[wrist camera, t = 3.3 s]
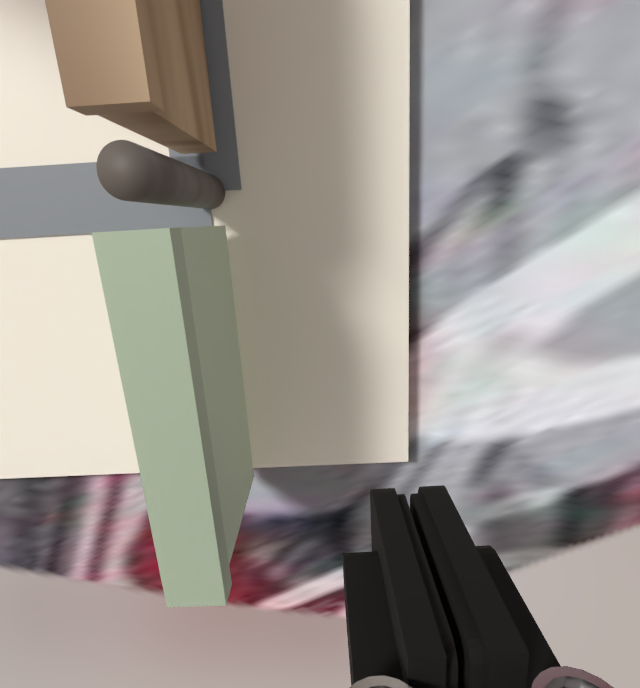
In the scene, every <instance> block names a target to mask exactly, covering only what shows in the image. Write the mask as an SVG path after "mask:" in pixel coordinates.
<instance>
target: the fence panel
mask: <svg viewBox="0 0 640 688" xmlns="http://www.w3.org/2000/svg"><path fill="white" fill-rule="evenodd" d="M92 238H93V242H94V247H95V252H96V257H97V262H98V267H99V272H100V277H101V282H102V287H103V292H104V297H105V302H106V307H107V312H108V317H109V322H110V327H111V332H112V337H113V342H114V347H115V352H116V357H117V362H118V367H119V372H120V377H121V382H122V387H123V392H124V397H125V402H126V406H127V411H128V416H129V421H130V426H131V431H132V436H133V441H134V446H135V451H136V456H137V461H138V466H139V471H140V476H141V481H142V486H143V491H144V496H145V501H146V506H147V511H148V516H149V521H150V526H151V531H152V536H153V541H154V546H155V551H156V556H157V561H158V566H159V571H160V575H161V580H162V585H163V590H164V595H165V600H166V605H167V607H191V606H222V605H226V604H227V600H228V597H229V593H230V589H231V585H232V583H231V576H230V569H229V564H230V560H231V556H232V553H233V549H234V546H235V542H236V539H237V535H238V531H239V528H240V524H241V521H242V517H243V514H244V510H245V506H246V503H247V499H248V496H249V492H250V489H251V485H252V481H253V478H254V472H253V463H252V454H251V445H250V437H249V428H248V419H247V411H246V402H245V393H244V384H243V376H242V367H241V358H240V349H239V341H238V332H237V323H236V315H235V306H234V297H233V288H232V280H231V271H230V262H229V253H228V245H227V236H226V227H225V225H224V226H203V227H183V228H162V229H145V230H127V231H110V232H93V233H92Z"/></svg>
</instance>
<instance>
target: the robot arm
mask: <svg viewBox="0 0 640 688" xmlns="http://www.w3.org/2000/svg"><path fill="white" fill-rule="evenodd" d="M370 503H371V537H372V552H358V553H343V572H344V591H345V607H346V621H347V635H348V647H349V659H350V673H351V687H350V688H613V687H612V686H610V685H609V684H608V683H606V682H605V681H604V680H602V679H601V678H599V677H597V676H595V675H592V674H590V673H588V672H586V671H584V670H580V669H576V668H572V667H568V666H563V667H561V666H560V664H559V663H558V661H557V659H556V657H555V656H554V654H553V652H552V650H551V649H550V647H549V645H548V643H547V641H546V640H545V638H544V636H543V635H542V632H541V631H540V629H539V627H538V625H537V624H536V622H535V620H534V618H533V617H532V615H531V613H530V611H529V610H528V608H527V606H526V604H525V602H524V601H523V599H522V597H521V595H520V593H519V592H518V590H517V588H516V587H515V585H514V583H513V581H512V579H511V578H510V576H509V574H508V572H507V570H506V569H505V567H504V565H503V563H502V562H501V560H500V558H499V556H498V554H497V553H496V551H495V550H494V549H493V548H492V547H491V546H475V545H474V543H473V541H472V539H471V537H470V535H469V533H468V531H467V529H466V527H465V525H464V523H463V521H462V519H461V517H460V515H459V513H458V511H457V509H456V507H455V505H454V503H453V501H452V499H451V497H450V495H449V493H448V491H447V489H446V488H445V486H425V487H419V490H418V494H411V496H410V509H409V506H408V503H407V500H406V497H405V495H404V494H400V495H397V494H396V491H395V489H394V488H388V489H371V491H370Z"/></svg>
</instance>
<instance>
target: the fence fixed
mask: <svg viewBox="0 0 640 688" xmlns="http://www.w3.org/2000/svg"><path fill="white" fill-rule="evenodd" d="M45 4H46V9H47V14H48V19H49V24H50V29H51V34H52V39H53V44H54V49H55V54H56V59H57V64H58V69H59V73H60V78H61V83H62V88H63V93H64V98H65V103H66V107H67V108H70V109H72V110H74V111H76V112H79V113H81V114H83V115H86V116H90V115H98V116H100V117H103V118H105V119H107V120H109V121H111V122H113V123H116V124H118V125H120V126H122V127H124V128H126V129H129V130H131V131H133V132H135V133H137V134H139V135H142V136H144V137H146V138H148V139H150V140H152V141H155V142H157V143H159V144H161V145H163V146H165V147H167V148H170V149H172V150H174V151H176V152H178V153H180V154H191V153H207V152H217V149H216V140H215V131H214V122H213V114H212V105H211V96H210V88H209V79H208V70H207V61H206V53H205V44H204V35H203V26H202V18H201V9H200V0H45ZM96 169H97V175H98V178H99V181H100V183H101V185H102V186H103V188H104V189H105V190H106V191H107V192H108V193H109V194H110V195H112V196H113V197H115V198H117V199H119V200H123V201H131V202H141V203H151V204H162V205H172V206H182V207H192V208H202V209H214V208H217V207H218V206H220V205H221V204H222V202H223V200H224V198H225V190H224V186H223V184H222V182H221V181H220V179H219V178H217V177H216V176H214V175H212V174H210V173H207V172H205V171H202V170H200V169H197V168H195V167H192V166H190V165H188V164H185V163H183V162H180V161H178V160H175V159H173V158H170V157H168V156H165V155H163V154H160V153H158V152H156V151H153V150H151V149H148V148H146V147H143V146H141V145H138V144H136V143H133V142H131V141H128V140H115V141H112V142H110V143H108V144H107V145H106V146H104V147H103V149H102V150H101V151H100V153H99V155H98V158H97V164H96Z"/></svg>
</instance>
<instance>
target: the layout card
mask: <svg viewBox="0 0 640 688" xmlns="http://www.w3.org/2000/svg"><path fill="white" fill-rule="evenodd" d="M200 9H201V18H202V26H203V35H204V44H205V53H206V61H207V70H208V79H209V88H210V96H211V105H212V114H213V122H214V131H215V140H216V149H217V152H207V153H191V154H180V153H178V152H176V151H174V150H172V149H170V148H167V147H165V146H163V145H161V144H159V143H157V142H155V141H152V140H150V139H148V138H146V137H144V136H142V135H139V134H137V133H135V132H133V131H131V130H129V129H126V128H124V127H122V126H120V125H118V124H116V123H113V122H111V121H109V120H107V119H105V118H103V117H100V116H98V115H90V116H86V115H83V114H81V113H79V112H76V111H74V110H72V109H70V108H67V107H66V103H65V98H64V93H63V88H62V83H61V78H60V73H59V69H58V64H57V59H56V54H55V49H54V44H53V39H52V34H51V29H50V24H49V19H48V14H47V9H46V4H45V0H0V479H8V478H32V477H56V476H79V475H103V474H127V473H140V471H139V466H138V461H137V456H136V451H135V446H134V441H133V436H132V431H131V426H130V421H129V416H128V411H127V406H126V402H125V397H124V392H123V387H122V382H121V377H120V372H119V367H118V362H117V357H116V352H115V347H114V342H113V337H112V332H111V327H110V322H109V317H108V312H107V307H106V302H105V297H104V292H103V287H102V282H101V277H100V272H99V267H98V262H97V257H96V252H95V247H94V242H93V238H92V233H93V232H110V231H127V230H145V229H162V228H183V227H203V226H224V225H225V227H226V236H227V245H228V253H229V262H230V271H231V280H232V288H233V297H234V306H235V315H236V323H237V332H238V341H239V349H240V358H241V367H242V376H243V384H244V393H245V402H246V411H247V419H248V428H249V437H250V445H251V454H252V463H253V468H269V467H292V466H316V465H340V464H364V463H387V462H408V407H409V88H410V0H200ZM115 140H128V141H131V142H133V143H136V144H138V145H141V146H143V147H146V148H148V149H151V150H153V151H156V152H158V153H160V154H163V155H165V156H168V157H170V158H173V159H175V160H178V161H180V162H183V163H185V164H188V165H190V166H192V167H195V168H197V169H200V170H202V171H205V172H207V173H210V174H212V175H214V176H216V177H217V178H219V179H220V181H221V182H222V184H223V186H224V190H225V198H224V200H223V202H222V204H221V205H220V206H218V207H217V208H214V209H202V208H192V207H182V206H172V205H162V204H151V203H141V202H131V201H123V200H119V199H117V198H115V197H113V196H112V195H110V194H109V193H108V192H107V191H106V190H105V189H104V188H103V186H102V185H101V183H100V181H99V178H98V175H97V169H96V164H97V158H98V155H99V153H100V151H101V150H102V149H103V147H104V146H106V145H107V144H108V143H110V142H112V141H115Z"/></svg>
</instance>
